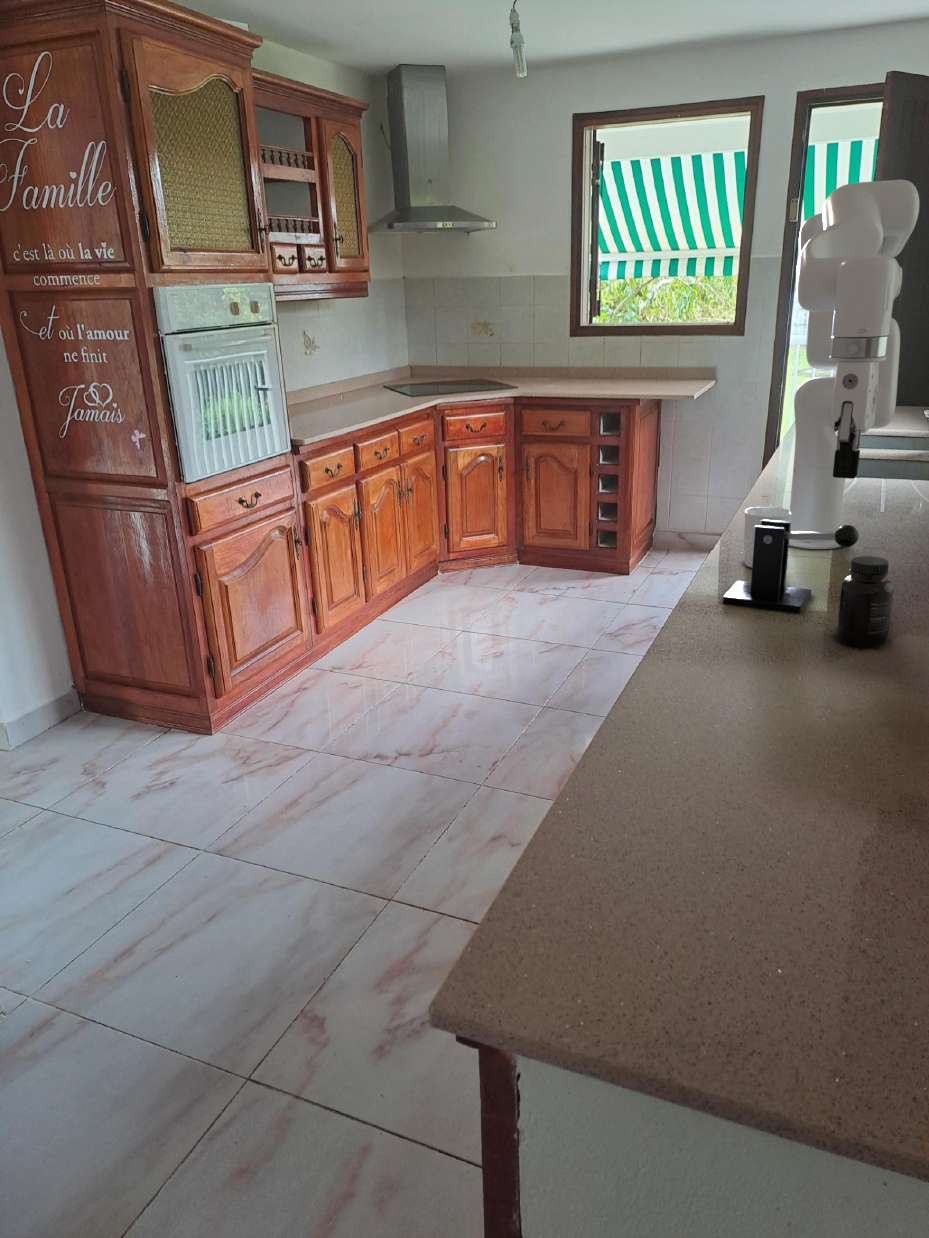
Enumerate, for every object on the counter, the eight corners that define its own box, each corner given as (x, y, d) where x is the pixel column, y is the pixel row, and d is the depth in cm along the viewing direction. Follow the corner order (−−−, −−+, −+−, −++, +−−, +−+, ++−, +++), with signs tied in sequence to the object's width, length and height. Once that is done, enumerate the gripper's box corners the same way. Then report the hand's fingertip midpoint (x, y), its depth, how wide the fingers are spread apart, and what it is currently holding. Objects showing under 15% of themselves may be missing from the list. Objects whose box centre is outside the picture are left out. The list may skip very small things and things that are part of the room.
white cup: (789, 571, 157) (793, 517, 154) (743, 570, 159) (747, 516, 155) (783, 558, 165) (787, 506, 161) (739, 558, 166) (743, 506, 163)
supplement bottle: (885, 633, 129) (895, 554, 124) (889, 651, 123) (900, 569, 118) (834, 629, 131) (843, 552, 127) (836, 646, 125) (845, 566, 121)
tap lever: (859, 544, 136) (860, 522, 135) (856, 550, 133) (857, 528, 132) (765, 542, 143) (765, 522, 142) (760, 547, 140) (760, 527, 139)
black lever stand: (810, 596, 145) (818, 520, 140) (799, 613, 138) (807, 534, 133) (737, 587, 151) (742, 514, 146) (722, 603, 144) (727, 527, 139)
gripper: (880, 353, 118) (864, 489, 124) (893, 345, 130) (878, 469, 136) (820, 354, 121) (808, 485, 128) (839, 346, 133) (827, 466, 140)
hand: (844, 476), depth 132 cm, fingers closed
